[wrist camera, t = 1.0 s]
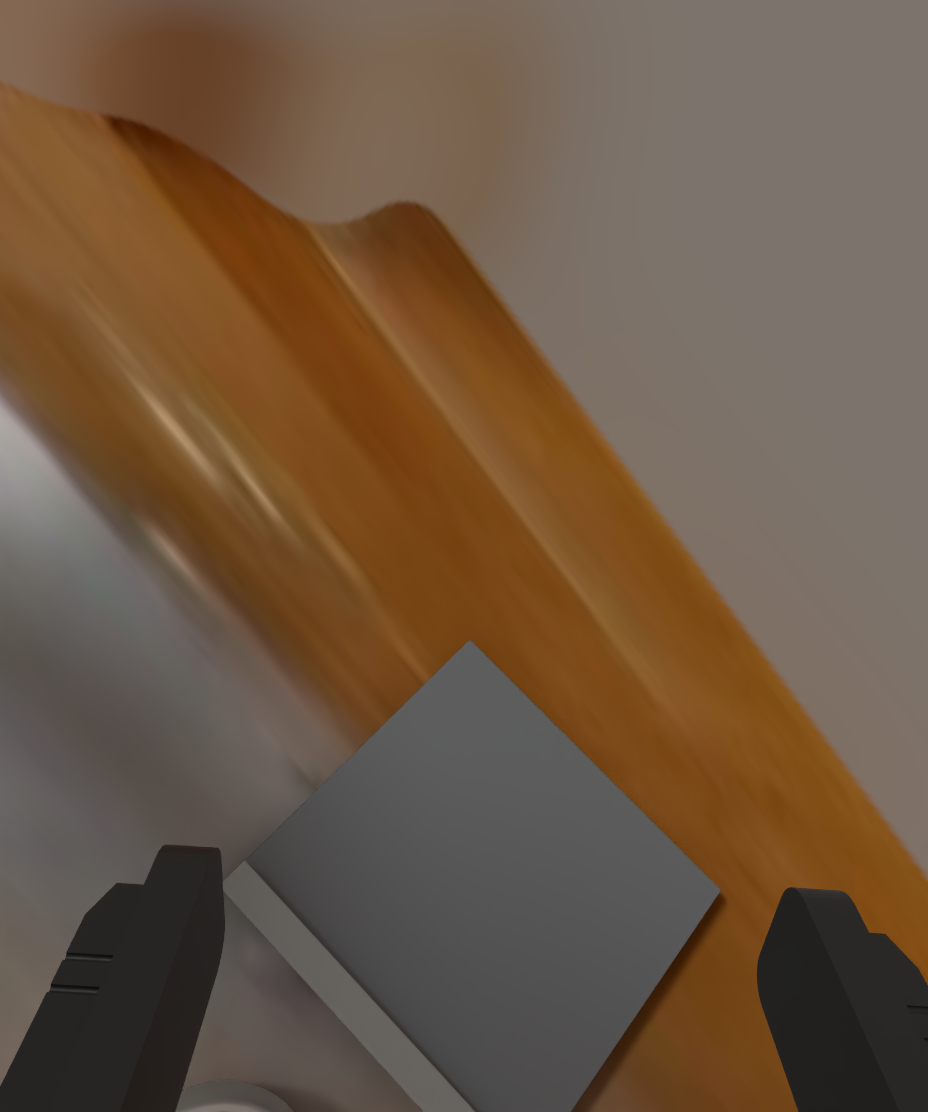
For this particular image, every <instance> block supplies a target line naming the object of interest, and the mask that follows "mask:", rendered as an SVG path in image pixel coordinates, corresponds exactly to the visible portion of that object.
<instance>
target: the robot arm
mask: <svg viewBox="0 0 928 1112" xmlns="http://www.w3.org/2000/svg"><path fill="white" fill-rule="evenodd" d="M224 932H225V914H224V897H223V880H222V863H221V853H220V850H219V848H212V847H197V846H181V845H164V846H162V848H161V849H160V850H159V852H158V854H157V856H156V858H155V861H154V863H153V865H152V868H151V870H150V872H149V874H148V877H147V879H146V881H145V884H144V885H141V884H125V883H116V884H115V885H114V886H113V887H112V888H111V889H110V890H109V891H108V892H107V893H106V894H105V895H104V896H103V897H102V898H101V899H100V900H99V901H98V902H97V903H96V904H95V905H94V906H93V907H92V908H91V909H90V910H89V911H88V912H87V913H86V914H85V916H84V918H83V920H82V922H81V924H80V926H79V928H78V930H77V932H76V934H75V936H74V938H73V940H72V942H71V944H70V946H69V948H68V950H67V952H66V953H67V954H66V958H65V960H62V963H61V965H60V967H59V969H58V971H57V973H56V975H55V977H54V979H53V981H52V983H51V988H50V991H49V992H47V993H46V995H45V997H44V999H43V1001H42V1003H41V1005H40V1007H39V1009H38V1011H37V1013H36V1015H35V1017H34V1019H33V1021H32V1023H31V1025H30V1027H29V1029H28V1031H27V1033H26V1035H25V1038H24V1040H23V1042H22V1044H21V1046H20V1048H19V1050H18V1052H17V1054H16V1056H15V1058H14V1060H13V1062H12V1064H11V1066H10V1068H9V1070H8V1072H7V1074H6V1076H5V1078H4V1080H3V1082H2V1084H1V1086H0V1112H176V1108H177V1105H178V1102H179V1098H180V1095H181V1092H182V1088H183V1085H184V1082H185V1078H186V1075H187V1072H188V1068H189V1065H190V1062H191V1058H192V1055H193V1052H194V1048H195V1045H196V1041H197V1038H198V1035H199V1031H200V1028H201V1025H202V1021H203V1018H204V1015H205V1011H206V1008H207V1005H208V1001H209V998H210V995H211V991H212V988H213V985H214V981H215V978H216V975H217V971H218V967H219V963H220V959H221V954H222V948H223V941H224ZM757 983H758V991H759V997H760V1001H761V1004H762V1008H763V1011H764V1013H765V1016H766V1019H767V1022H768V1025H769V1028H770V1031H771V1034H772V1036H773V1039H774V1042H775V1045H776V1048H777V1051H778V1054H779V1057H780V1059H781V1062H782V1065H783V1068H784V1071H785V1074H786V1077H787V1080H788V1083H789V1085H790V1088H791V1091H792V1094H793V1097H794V1100H795V1103H796V1106H797V1108H798V1111H799V1112H928V985H927V983H926V982H925V980H924V978H923V976H922V974H921V973H920V971H919V969H918V968H917V967H916V966H915V965H914V964H913V962H912V961H911V960H910V959H909V958H908V957H907V956H906V955H905V954H904V953H903V952H902V951H901V950H900V949H899V948H898V947H897V946H896V945H895V944H894V943H893V942H892V941H891V940H890V939H889V937H888V936H887V935H886V934H879V933H869V931H868V929H867V928H866V926H865V924H864V922H863V920H862V918H861V916H860V914H859V912H858V910H857V908H856V906H855V904H854V903H853V901H852V899H851V898H850V897H849V896H848V895H847V894H846V893H845V892H843V891H838V890H822V889H807V888H792V887H790V888H788V889H786V890H785V891H784V893H783V895H782V897H781V900H780V902H779V905H778V908H777V910H776V913H775V915H774V918H773V921H772V923H771V926H770V929H769V931H768V934H767V937H766V939H765V942H764V945H763V947H762V950H761V953H760V955H759V959H758V966H757Z"/></svg>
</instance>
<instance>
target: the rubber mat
mask: <svg viewBox="0 0 928 1112" xmlns="http://www.w3.org/2000/svg"><path fill="white" fill-rule="evenodd" d="M223 891H224V892H225V893H226V895H227V896H228V897H229V898H230V899H231V900H232V901H233V902H234V903H235V905H236V906H237V907H238V908H239V909H240V910H241V911H242V912H243V913H244V914H245V916H246V917H247V918H248V919H249V920H250V921H251V922H252V923H253V924H254V925H255V927H256V928H257V929H258V930H259V931H260V932H261V933H262V934H263V935H264V936H265V938H266V939H267V940H268V941H269V942H270V943H271V944H272V945H273V946H274V947H275V949H276V950H277V951H278V952H279V953H280V954H281V955H282V956H283V957H284V959H285V960H286V961H287V962H288V963H289V964H290V965H291V966H292V967H293V968H294V970H295V971H296V972H297V973H298V974H299V975H300V976H301V977H302V978H303V979H304V981H305V982H306V983H307V984H308V985H309V986H310V987H311V988H312V989H313V990H314V992H315V993H316V994H317V995H318V996H319V997H320V998H321V999H322V1000H323V1001H324V1003H325V1004H326V1005H327V1006H328V1007H329V1008H330V1009H331V1010H332V1011H333V1013H334V1014H335V1015H336V1016H337V1017H338V1018H339V1019H340V1020H341V1021H342V1022H343V1024H344V1025H345V1026H346V1027H347V1028H348V1029H349V1030H350V1031H351V1032H352V1033H353V1035H354V1036H355V1037H356V1038H357V1039H358V1040H359V1041H360V1042H361V1043H362V1044H363V1046H364V1047H365V1048H366V1049H367V1050H368V1051H369V1052H370V1053H371V1054H372V1055H373V1057H374V1058H375V1059H376V1060H377V1061H378V1062H379V1063H380V1064H381V1065H382V1067H383V1068H384V1069H385V1070H386V1071H387V1072H388V1073H389V1074H390V1075H391V1076H392V1078H393V1079H394V1080H395V1081H396V1082H397V1083H398V1084H399V1085H400V1086H401V1087H402V1089H403V1090H404V1091H405V1092H406V1093H407V1094H408V1095H409V1096H410V1097H411V1098H412V1100H413V1101H414V1102H415V1103H416V1104H417V1105H418V1106H419V1107H420V1108H421V1109H422V1111H423V1112H571V1111H572V1109H573V1108H574V1106H575V1105H576V1103H577V1102H578V1100H579V1099H580V1097H581V1096H582V1095H583V1093H584V1092H585V1090H586V1089H587V1087H588V1086H589V1084H590V1083H591V1081H592V1080H593V1078H594V1077H595V1075H596V1074H597V1072H598V1071H599V1069H600V1068H601V1066H602V1065H603V1064H604V1062H605V1061H606V1059H607V1058H608V1056H609V1055H610V1053H611V1052H612V1050H613V1049H614V1047H615V1046H616V1044H617V1043H618V1041H619V1040H620V1038H621V1037H622V1036H623V1034H624V1033H625V1031H626V1030H627V1028H628V1027H629V1025H630V1024H631V1022H632V1021H633V1019H634V1018H635V1016H636V1015H637V1013H638V1012H639V1010H640V1009H641V1007H642V1006H643V1005H644V1003H645V1002H646V1000H647V999H648V997H649V996H650V994H651V993H652V991H653V990H654V988H655V987H656V985H657V984H658V982H659V981H660V979H661V978H662V977H663V975H664V974H665V972H666V971H667V969H668V968H669V966H670V965H671V963H672V962H673V960H674V959H675V957H676V956H677V954H678V953H679V951H680V950H681V948H682V947H683V946H684V944H685V943H686V941H687V940H688V938H689V937H690V935H691V934H692V932H693V931H694V929H695V928H696V926H697V925H698V923H699V922H700V920H701V919H702V918H703V916H704V915H705V913H706V912H707V910H708V909H709V907H710V906H711V904H712V903H713V901H714V900H715V898H716V897H717V895H718V894H719V892H720V891H721V890H720V889H719V888H718V887H717V886H716V885H715V884H714V883H713V882H712V881H711V880H710V879H709V878H708V877H707V876H706V875H705V874H704V873H703V872H702V871H701V870H700V869H699V868H698V867H697V866H696V865H695V864H694V863H693V862H692V861H691V860H690V859H689V858H688V857H687V856H686V855H685V854H684V853H683V852H682V851H681V850H680V849H679V848H678V847H677V846H676V845H675V844H674V843H673V842H672V841H671V840H670V839H669V838H668V837H667V836H666V835H665V834H664V833H663V832H662V831H661V830H660V829H659V828H658V827H657V826H656V825H655V824H654V823H653V822H652V821H651V820H650V819H649V818H648V817H647V816H646V815H645V814H644V813H643V812H642V811H641V810H640V809H639V808H638V807H637V806H636V805H635V804H634V803H633V802H632V801H631V800H630V799H629V798H628V797H627V796H626V795H625V794H624V793H623V792H622V791H621V790H620V789H619V788H618V787H617V786H616V785H615V784H614V783H613V782H612V781H611V780H610V779H609V778H608V777H607V776H606V775H605V774H604V773H603V772H602V771H601V770H600V769H599V768H598V767H597V766H596V765H595V764H594V763H593V762H592V761H591V760H590V759H589V758H588V757H587V756H586V755H585V754H584V753H583V752H582V751H581V750H580V749H579V748H578V747H577V746H576V745H575V744H574V743H573V742H572V741H571V740H570V739H569V738H568V737H567V736H566V735H565V734H564V733H563V732H562V731H561V730H560V729H559V728H558V727H557V726H556V725H555V724H554V723H553V722H552V721H551V720H550V719H549V718H548V717H547V716H546V715H545V714H544V713H543V712H542V711H541V710H540V709H539V708H538V707H537V706H536V705H535V704H534V703H533V702H532V701H531V700H530V699H529V698H528V697H527V696H526V695H525V694H524V693H523V692H522V691H521V690H520V689H519V688H518V687H517V686H516V685H515V684H514V683H513V682H512V681H511V680H510V679H509V678H508V677H507V676H506V675H505V674H504V673H503V672H502V671H501V670H500V669H499V668H498V667H497V666H496V665H495V664H494V663H493V662H492V661H491V660H490V659H489V658H488V657H487V656H486V655H485V654H484V653H483V652H482V651H481V650H480V649H479V648H478V647H477V646H476V645H475V644H474V643H473V642H472V641H471V640H469V641H468V642H467V643H466V644H465V645H464V646H463V647H462V648H461V649H460V650H459V651H458V652H457V653H456V654H455V655H454V656H453V657H452V658H451V659H450V660H449V661H448V662H447V663H446V664H445V665H444V666H443V667H442V668H441V669H440V670H439V671H438V672H437V673H436V674H435V675H434V676H433V677H432V678H431V679H430V680H429V681H428V682H427V683H426V684H425V685H424V686H423V687H421V688H420V689H419V690H418V691H417V692H416V693H415V694H414V695H413V696H412V697H411V698H410V699H409V700H408V701H407V702H406V703H405V704H404V705H403V706H402V707H401V708H400V709H399V710H398V711H397V712H396V713H395V714H394V715H393V716H392V717H391V718H390V719H389V720H388V721H387V722H386V723H385V724H384V725H383V726H382V727H381V728H380V729H379V730H378V731H377V732H376V733H375V734H374V735H373V736H372V737H371V738H370V739H369V740H368V741H367V742H366V743H365V744H363V745H362V746H361V747H360V748H359V749H358V750H357V751H356V752H355V753H354V754H353V755H352V756H351V757H350V758H349V759H348V760H347V761H346V762H345V763H344V764H343V765H342V766H341V767H340V768H339V769H338V770H337V771H336V772H335V773H334V774H333V775H332V776H331V777H330V778H329V779H328V780H327V781H326V782H325V783H324V784H323V785H322V786H321V787H320V788H319V789H318V790H317V791H316V792H315V793H314V794H313V795H312V796H311V797H310V798H309V799H308V800H307V801H306V802H304V803H303V804H302V805H301V806H300V807H299V808H298V809H297V810H296V811H295V812H294V813H293V814H292V815H291V816H290V817H289V818H288V819H287V820H286V821H285V822H284V823H283V824H282V825H281V826H280V827H279V828H278V829H277V830H276V831H275V832H274V833H273V834H272V835H271V836H270V837H269V838H268V839H267V840H266V841H265V842H264V843H263V844H262V845H261V846H260V847H259V848H258V849H257V850H256V851H255V852H254V853H253V854H252V855H251V856H250V857H249V858H248V859H247V860H244V861H243V862H242V863H241V864H240V865H239V866H238V867H237V868H236V869H235V870H234V871H233V872H232V873H231V874H230V875H229V876H228V877H227V878H226V879H225V880H224V881H223Z"/></svg>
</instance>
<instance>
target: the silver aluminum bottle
mask: <svg viewBox="0 0 928 1112" xmlns="http://www.w3.org/2000/svg"><path fill="white" fill-rule="evenodd" d="M176 1112H294V1111H293V1110H292V1109H291V1108H290V1107H289V1106H288V1105H287V1103H286V1102H285V1101H283V1100H282V1099H280V1098H279V1097H277V1096H276V1095H274V1094H273V1093H271V1092H270V1091H268V1090H267V1089H264V1088H262V1087H259V1086H256V1085H254V1084H251V1083H248V1082H244V1081H236V1080H218V1081H209V1082H206V1083H202V1084H199V1085H196V1086H193V1087H190V1088H187V1089H185V1090H183V1091H182V1092H181V1095H180V1098H179V1102H178V1105H177V1108H176Z"/></svg>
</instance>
